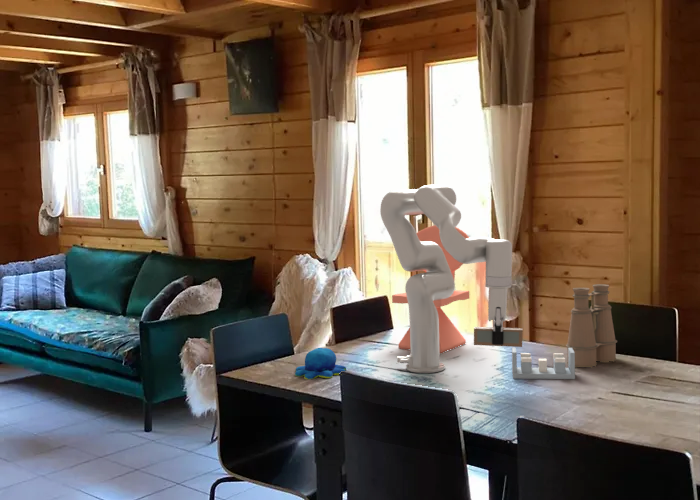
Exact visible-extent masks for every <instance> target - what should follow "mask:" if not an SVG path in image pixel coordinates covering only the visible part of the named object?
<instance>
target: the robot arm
mask: <svg viewBox="0 0 700 500" xmlns="http://www.w3.org/2000/svg"><path fill="white" fill-rule="evenodd" d="M456 203H457V194H456V192H455V190H454V189H453V188H452V187H451V186H450V185H446V184H427V185H423V186H421V187H419V188H417V189H415V188H414V189H413V188H412V189H397V190H392V191H389V192H388V193H386V194H385V195H384V197H382V200H381V202H380V217H381V220H382V223H383V225H384V227H385V229H386V231H387V232H388V235H389V236H390V239H391V242H392V245H393V248H394V250H395V253H396V255H397V258H398V260H399V264H400V266H401V267H402V269H403V270H404V271H405V272H409V273H410V272H419V273H417V274H413V275H412V276H410V277H409V278H408V279H407V281H406V283H405V288H404V289H405V293H406V295H407V300H408V303H407V305H408V315H409V316H408V317H409V328H410V348H411V350H410V354H409V355H406V356H402V355H401V356H400V355H398V356H396V357H397V358H396V359H397V363H400V364H406V365H405V366H406V367H405V369H406V370H407V371H408V372H412V373H417V374H431V373H437V372H442V371H444V370H445V368H446V366H445V364H444V363H443V362H441V360H440V359H441V357H440V354H441V353H440V348H439V316H438V311H437V309H436V307H435V305H434V303H433V301H435V300H441V299H446V298H448V297H450V296H451V295H452V294H453V292H454V291H455V290H456V289H455V287H456V286H455V285H456V284H455V280H454V279H453V276H452V273H451V270H450V268H449V265H448V263H447V260H446V258H445V255H444V253H443V251H442V249H441V248H440V246H439V245H438V244H436V243H434V242H430V241H426V242H421V241H420V240H419V238H418V236H417V234H416V233H417V232H416V229H415V227H414V226H413V224H412V223H411V222H410V221H409V220H408V219H407V218H406V217H405V216H413V215H425V217H427V219H428V220H429V221H431V222H432V223H433V225H436V226H437V227H438V229H439V230H440V231H439V235H440V239H441V243H442V245H443V247H444V248H445V249H446V251H447V252H448V253H449V254H450V255H451V256H452V257H453V258H454V259H456V260H457V261H458V262H460V263H463V265H464V264H465V265H468V264H477V263H485V287H486V288H488V295H487V296H488V299H487V300H488V305H487V306H488V307H487V308H488V309H487V311H488V314H487V318H488V321H489V322H491V321H492V327H493V331H492V344H493V345H503V333H504V331H503V328H504V322H506V316H507V310H508V309H507V308H508V307H507V306H508V305H507V304H508V303H507V302H508V289H510V288H512V282H513V281H512V279H513V277H512V275H513V274H512V272H513V271H512V269H513V268H512V267H513V258H512V257H513V243H512V242H511V241H510V240H508V239H502V238H501V239H498V238H497V239H495V238H492V237H488V236H478V237H469V238H464V237H463V236H462V235H461V234H460V233H459V232H458V231H457V230H456V228H455V227H458V225H459V223H460V221H461V219H462V213H461V211H460V210H459V209H458V208H457V207H456V206H455V205H456ZM423 270H426V272H421V271H423ZM420 272H421V273H420Z"/></svg>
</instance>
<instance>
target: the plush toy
mask: <svg viewBox="0 0 700 500" xmlns="http://www.w3.org/2000/svg"><path fill="white" fill-rule="evenodd" d="M336 363H337V356H336V354H335V352H334V351H333V350H332V349H330V348H327V347H325V348H323V347H316V348H314V349H312V350H310V351H308V352H307V353H306V355H305V358H304V365H302V366H301V365H300V366H297V367H296V368H295V372H294V376H295V377H303V379H304V380H313V379H316V378H318V377H319V378H324V379H333V376H340V375H339V373H340V372H341V371H347V367H346V366H344V365H341V364H336Z"/></svg>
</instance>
